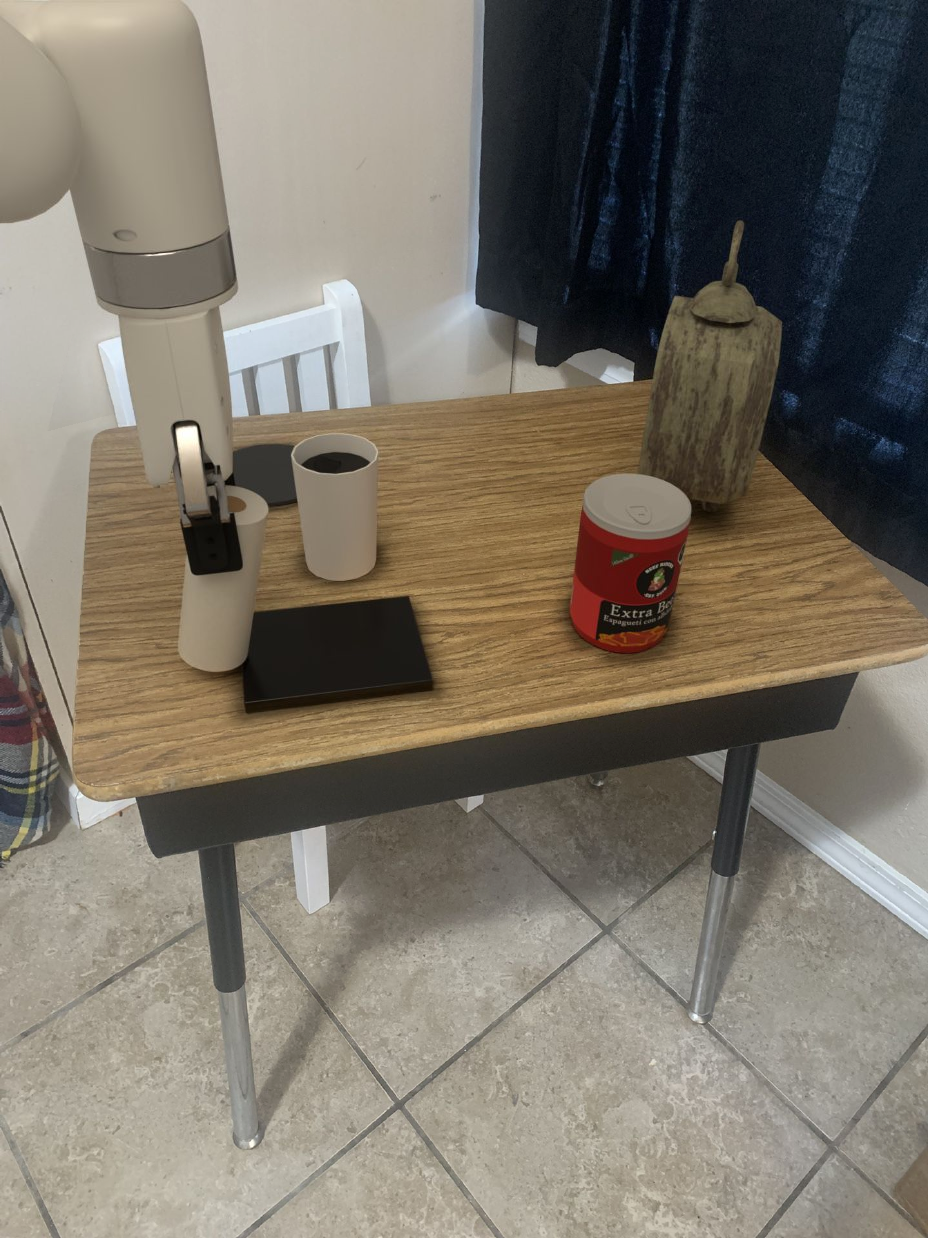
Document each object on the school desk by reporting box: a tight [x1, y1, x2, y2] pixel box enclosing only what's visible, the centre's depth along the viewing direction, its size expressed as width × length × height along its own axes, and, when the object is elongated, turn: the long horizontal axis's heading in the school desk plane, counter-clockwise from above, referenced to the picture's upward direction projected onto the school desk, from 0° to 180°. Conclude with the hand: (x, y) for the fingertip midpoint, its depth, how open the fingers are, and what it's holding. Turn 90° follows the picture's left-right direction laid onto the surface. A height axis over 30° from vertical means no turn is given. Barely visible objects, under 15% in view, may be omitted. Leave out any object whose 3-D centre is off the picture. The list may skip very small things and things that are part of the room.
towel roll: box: [177, 485, 270, 673], centre depth 66 cm, size 12×5×5 cm
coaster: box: [233, 443, 298, 507], centre depth 92 cm, size 11×11×1 cm
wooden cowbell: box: [637, 220, 783, 514], centre depth 82 cm, size 14×9×25 cm, turn 164°
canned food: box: [569, 473, 692, 654], centre depth 72 cm, size 8×8×11 cm
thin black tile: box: [241, 595, 434, 714], centre depth 71 cm, size 13×10×1 cm
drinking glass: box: [291, 432, 379, 582], centre depth 78 cm, size 7×7×10 cm
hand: (216, 542), depth 64 cm, fingers closed on towel roll, 4 cm apart
